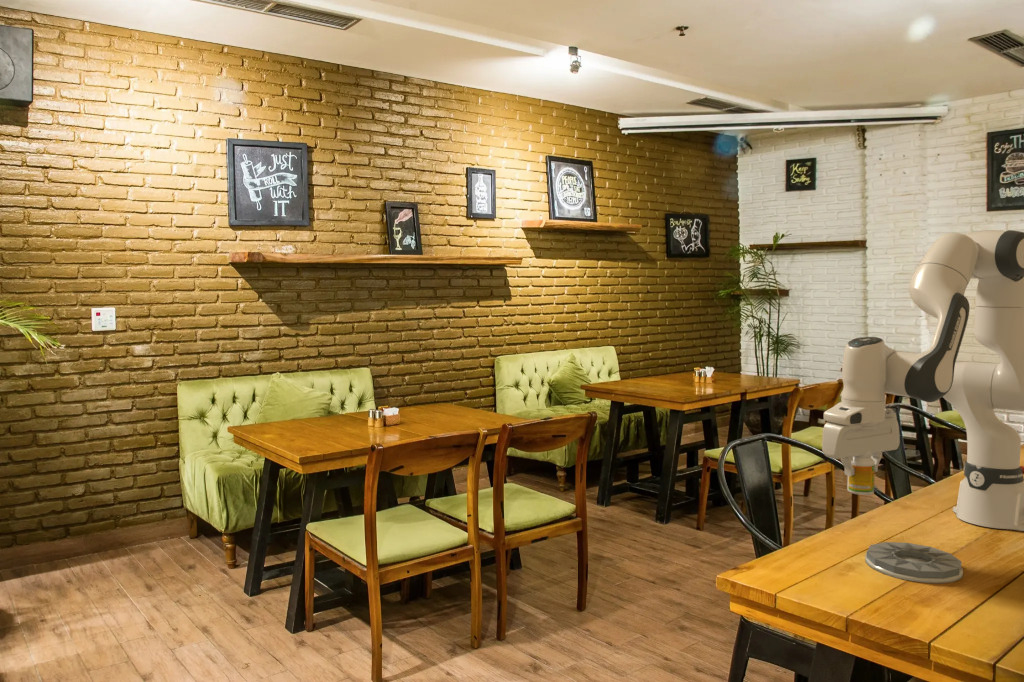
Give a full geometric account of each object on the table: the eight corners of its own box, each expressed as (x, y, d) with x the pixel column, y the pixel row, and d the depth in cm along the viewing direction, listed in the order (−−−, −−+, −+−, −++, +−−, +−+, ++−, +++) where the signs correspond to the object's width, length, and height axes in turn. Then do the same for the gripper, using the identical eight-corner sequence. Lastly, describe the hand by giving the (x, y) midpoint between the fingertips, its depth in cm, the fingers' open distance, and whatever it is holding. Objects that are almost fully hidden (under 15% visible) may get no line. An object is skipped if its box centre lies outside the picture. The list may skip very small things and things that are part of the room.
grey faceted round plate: (904, 546, 173) (904, 537, 173) (982, 574, 157) (983, 563, 157) (846, 558, 166) (846, 548, 165) (922, 589, 149) (923, 578, 149)
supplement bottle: (876, 496, 169) (877, 451, 168) (850, 495, 170) (851, 451, 169) (870, 489, 174) (871, 446, 173) (845, 488, 175) (845, 445, 174)
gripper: (883, 405, 178) (881, 464, 179) (817, 413, 169) (816, 476, 170) (908, 409, 172) (906, 471, 173) (841, 418, 163) (839, 483, 164)
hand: (861, 473), depth 172 cm, fingers closed on supplement bottle, 5 cm apart
